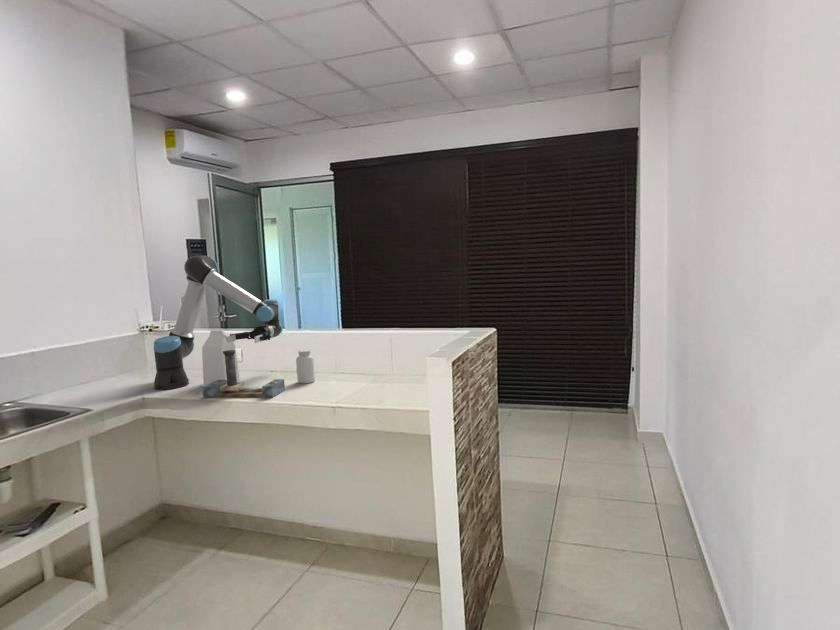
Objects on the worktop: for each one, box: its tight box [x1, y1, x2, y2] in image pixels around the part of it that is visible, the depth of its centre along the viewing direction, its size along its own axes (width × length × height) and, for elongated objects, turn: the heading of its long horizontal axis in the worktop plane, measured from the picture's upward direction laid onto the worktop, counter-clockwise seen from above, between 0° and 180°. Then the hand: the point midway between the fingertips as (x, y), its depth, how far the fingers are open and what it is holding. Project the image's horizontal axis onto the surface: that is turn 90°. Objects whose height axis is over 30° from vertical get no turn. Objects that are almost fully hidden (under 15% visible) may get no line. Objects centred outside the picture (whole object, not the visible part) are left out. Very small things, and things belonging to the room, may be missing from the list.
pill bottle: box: [295, 349, 316, 384], centre depth 238 cm, size 8×8×15 cm
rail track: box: [202, 378, 286, 399], centre depth 221 cm, size 32×12×6 cm, turn 81°
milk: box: [201, 329, 241, 386], centre depth 242 cm, size 12×12×26 cm
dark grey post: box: [220, 349, 245, 391], centre depth 221 cm, size 7×8×17 cm
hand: (241, 339), depth 230 cm, fingers open, 13 cm apart
